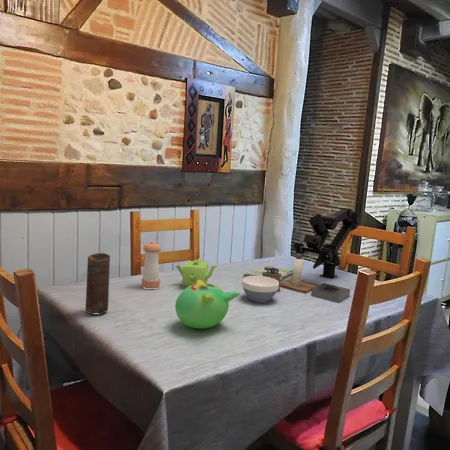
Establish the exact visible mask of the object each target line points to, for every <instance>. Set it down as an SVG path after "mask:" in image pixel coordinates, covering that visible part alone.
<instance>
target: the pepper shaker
mask: <svg viewBox="0 0 450 450" xmlns="http://www.w3.org/2000/svg"><path fill="white" fill-rule="evenodd" d="M161 248H162V247H161V245H160V244H158V243H155V241H153V240H152V241H150V242H148V243H145V244H144V245H143V247H142V249H143V251H144V262H143V269H142V277H141V288H142V287H145V288H158V287H159V286H160V284H161V283H160V281H161V280H160V266H159V265H160V264H159V256H160V255H159V252H160V251H161V250H162V249H161ZM159 288H160V287H159Z"/></svg>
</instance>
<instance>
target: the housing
mask: <svg viewBox="0 0 450 450" xmlns="http://www.w3.org/2000/svg"><path fill="white" fill-rule="evenodd" d="M310 292H311V294H310V295H311V297H314V298H319V299H323V300H326V301H330V302H335V303H337V304H338V303H341V302H342V301H344V300H346V299H347V298H349V297H350V293H351V288H347V287H343V286H342V287H341V286H338V285H333V284H329V283H325V282H323V283H321V284H320V283H319V285H318V286H316V287H314V288H312V291H310Z"/></svg>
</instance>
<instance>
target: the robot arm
mask: <svg viewBox="0 0 450 450" xmlns="http://www.w3.org/2000/svg"><path fill="white" fill-rule="evenodd" d="M340 222H341V223H342V225H341V227H340V229H339V230H338V232H337V233H336V234H335V237H334V238H333V239H332V241H331V242H330V244H328V243H326V240H327V239H328V238H330V237H331V234H330V231H334V230H335V229H337V227H338V224H339V223H340ZM308 223H309V226H310V227H311V229H312V231H313V232H314V235H311V234H304V238H303V242H305V245H306V246H304V244H303V243H302V242H298V241H295V242H293V244H292V246H291V247H292V248H293V250H294V251H295V254H296V253H300V254H302V258H303V257H304V254H305V253H306V252H307V253H311V254H314V255H318V257H317V258H316V260H315V262H314V263H313V265H312V269H313V270H314V269H317V268H318V267H320V266H321V265H323V266H322V267H323V268H322V274H320V275H319V276H320V277H324V278H328V279H331V280H333V279H335V278H338V275H337V274H336V267H339V266H340V265H341V262H342V261H341V259H340V254H339V253H340V252H339V251H340V249H341V247H342V246H343V244H344V243H345V242H346V239H347V238H348V236H349V234H351V232H353V231H355V230H356V229H357V228H358V227H359V226H360V225H361V223H362V218H361V217H360V216H359V214H358V213H356V212H355V211H354V210H353V209H351V208H348V207H347V208H345V207H343V208H341V209H340V210H337V211H336V212H334V213H332V214H330V215H328V214H327V215H322V214H319V213H316V215H314V216H312V217H310V218H309V220H308ZM329 230H330V231H329Z"/></svg>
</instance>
